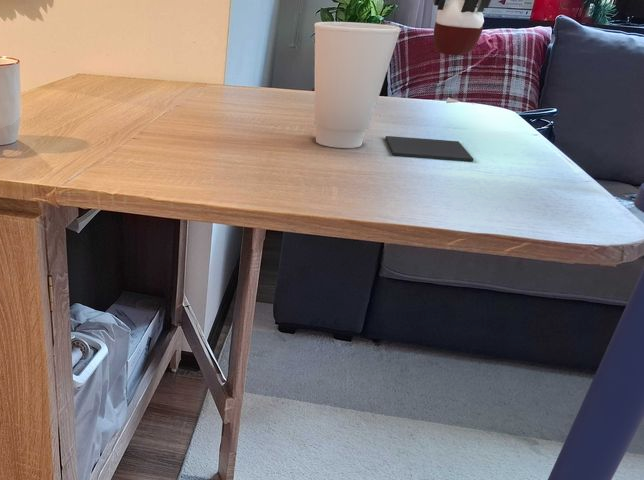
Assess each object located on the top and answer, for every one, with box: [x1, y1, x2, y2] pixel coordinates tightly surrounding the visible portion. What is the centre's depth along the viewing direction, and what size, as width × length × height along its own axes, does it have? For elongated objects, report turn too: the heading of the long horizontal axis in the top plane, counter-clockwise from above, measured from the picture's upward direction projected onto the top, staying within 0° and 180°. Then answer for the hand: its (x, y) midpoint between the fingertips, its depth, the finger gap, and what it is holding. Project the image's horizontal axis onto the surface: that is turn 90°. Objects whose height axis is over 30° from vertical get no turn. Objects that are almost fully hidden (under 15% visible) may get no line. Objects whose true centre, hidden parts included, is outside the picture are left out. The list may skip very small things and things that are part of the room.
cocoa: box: [432, 0, 485, 56], centre depth 85 cm, size 10×6×12 cm, turn 154°
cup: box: [313, 21, 402, 149], centre depth 92 cm, size 12×12×16 cm
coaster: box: [385, 135, 474, 162], centre depth 94 cm, size 11×11×1 cm
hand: (461, 5), depth 83 cm, fingers closed on cocoa, 4 cm apart
